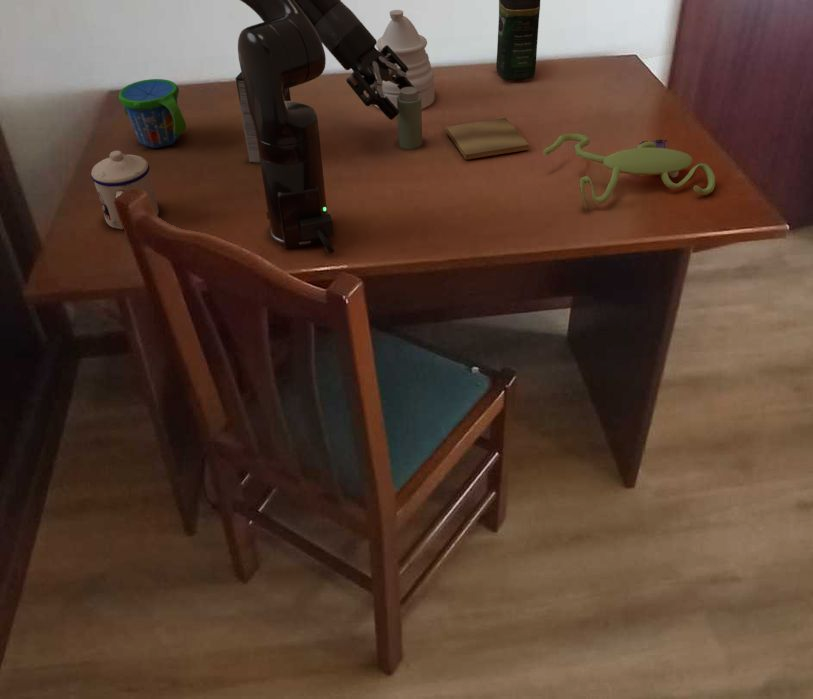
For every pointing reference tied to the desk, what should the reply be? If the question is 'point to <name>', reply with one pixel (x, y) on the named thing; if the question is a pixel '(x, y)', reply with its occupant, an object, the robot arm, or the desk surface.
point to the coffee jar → (517, 39)
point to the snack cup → (153, 111)
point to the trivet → (486, 138)
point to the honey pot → (408, 58)
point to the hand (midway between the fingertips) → (405, 107)
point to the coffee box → (248, 121)
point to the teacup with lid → (121, 182)
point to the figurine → (638, 164)
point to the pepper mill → (409, 118)
